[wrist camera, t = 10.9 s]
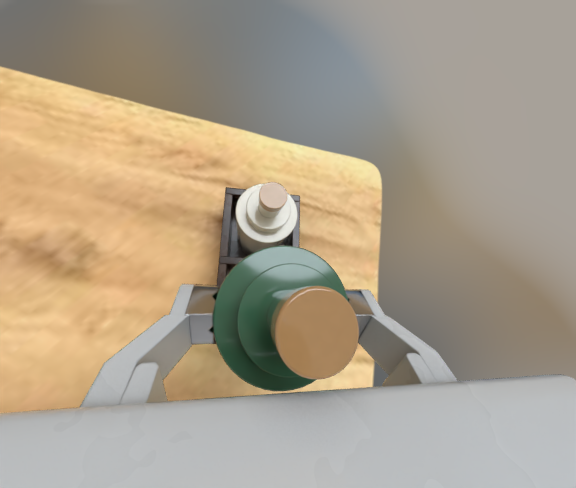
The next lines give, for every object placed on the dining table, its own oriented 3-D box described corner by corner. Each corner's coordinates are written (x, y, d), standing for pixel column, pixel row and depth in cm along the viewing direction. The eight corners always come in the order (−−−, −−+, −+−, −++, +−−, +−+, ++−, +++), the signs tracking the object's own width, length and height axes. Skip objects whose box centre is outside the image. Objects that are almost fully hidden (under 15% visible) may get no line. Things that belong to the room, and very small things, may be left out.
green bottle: (212, 313, 17) (128, 391, 4) (251, 254, 19) (282, 176, 6) (271, 349, 18) (366, 525, 5) (305, 289, 19) (449, 291, 6)
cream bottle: (228, 242, 28) (218, 202, 15) (252, 209, 30) (262, 146, 17) (264, 266, 29) (285, 247, 16) (286, 232, 30) (322, 188, 17)
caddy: (286, 331, 29) (297, 342, 23) (217, 332, 27) (211, 344, 21) (289, 211, 32) (300, 195, 26) (228, 205, 30) (225, 186, 25)
